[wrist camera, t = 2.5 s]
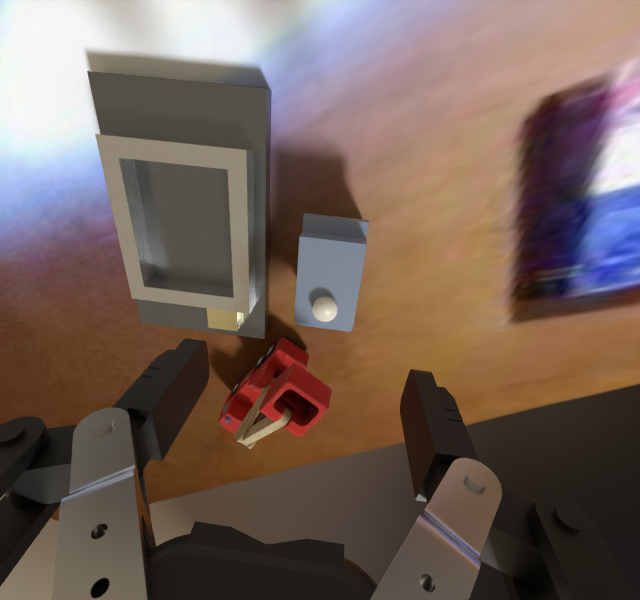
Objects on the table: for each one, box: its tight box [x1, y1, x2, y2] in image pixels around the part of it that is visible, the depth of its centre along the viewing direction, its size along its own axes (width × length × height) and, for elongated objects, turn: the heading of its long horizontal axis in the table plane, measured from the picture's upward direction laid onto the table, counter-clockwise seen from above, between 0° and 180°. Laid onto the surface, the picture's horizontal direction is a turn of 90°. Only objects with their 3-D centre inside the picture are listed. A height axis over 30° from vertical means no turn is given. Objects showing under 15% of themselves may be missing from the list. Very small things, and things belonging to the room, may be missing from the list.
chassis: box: [87, 71, 271, 339], centre depth 23 cm, size 11×18×3 cm, turn 175°
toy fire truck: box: [219, 337, 332, 449], centre depth 25 cm, size 3×14×10 cm, turn 141°
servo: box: [294, 213, 369, 332], centre depth 22 cm, size 4×8×6 cm, turn 175°
